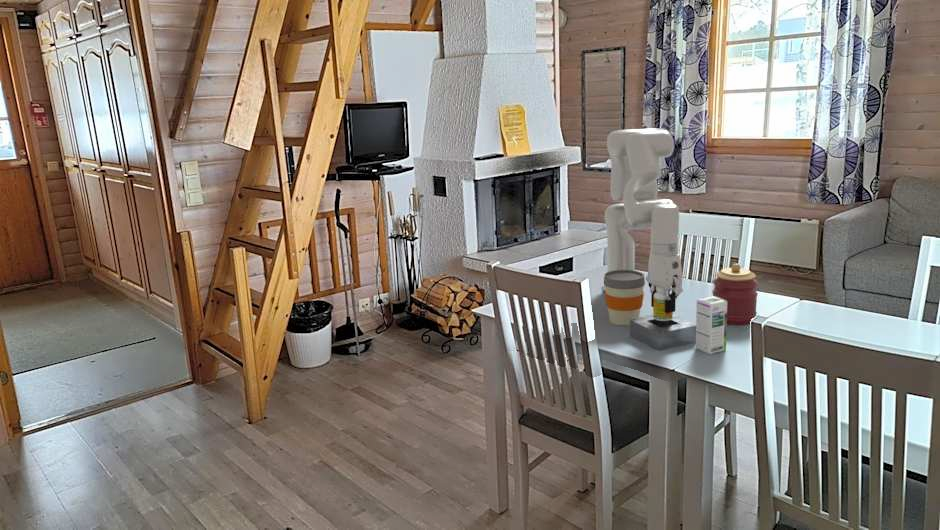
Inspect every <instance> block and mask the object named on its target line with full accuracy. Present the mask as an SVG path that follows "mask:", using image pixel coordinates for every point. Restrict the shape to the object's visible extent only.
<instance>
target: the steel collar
mask: <svg viewBox="0 0 940 530" xmlns="http://www.w3.org/2000/svg"><path fill="white" fill-rule="evenodd" d="M629 336H630V337H632V338H634V339H635V340H638V341H639V342H642V343H643V344H645V345H647V346H649V347H651V348H653V349H655V350H656V351H661V350H665V349H666V350H667V349H671V348H675V347H679V346H684V345H689V344H692V343H696V323H694V322H691V321H689V320H686V319H684V318H682V317H680V316H678V315H675V314H673V317H672V319H671V320H669V321H658V320H656V319H654V318H653V314H650V315H645V316H639V318H635V319H630V325H629Z"/></svg>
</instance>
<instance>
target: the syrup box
mask: <svg viewBox="0 0 940 530" xmlns="http://www.w3.org/2000/svg"><path fill="white" fill-rule="evenodd" d="M695 308H696V315H695V316H696V317H695V318H696V320H695V324H696V342H695V348H696V349H697V350H699V351H701V352H704V353H706V354H707V355H713V354H716V353H720V352H725V351H727V326H728V324H727V301H726V300H724V299H722V298H719V297H714V296H713V295H711V296H709V297H704V298H699V299H696V307H695Z"/></svg>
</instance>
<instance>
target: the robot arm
mask: <svg viewBox="0 0 940 530" xmlns="http://www.w3.org/2000/svg"><path fill="white" fill-rule="evenodd" d="M673 138H674V137H673V136H672V134H671V133H670V132H669V130H666V129H662V128H658V127H657V128H656V127H655V128H653V127H652V128H631V129H630V128H629V129H628V128H627V129H619V130H614V131H611V132H610V133H609V134H608V136H607V138H606V148H607V152H608V155H609V158H610V163H611V168H610V171H611V172H610V197H611V199H612V200H613V201H616V202H620V203H614V204H611V205H609V206H608V207H607V208H606V209H605V211H604V222H605V227H606V236H607V237H606V239H607V242H606V243H607V248H606V249H607V272H610V271H615V270H633V271H636V270H635V263H636V262H635V261H636V260H635V259H636V258H635V255H636V253H635V251H636V246H635V240H634V239H633V237H632V236H631V234H629V233H628V231H636V230H649V229H650V251H649V258H648V265H647V266H648V267H647V275H646V277H645V280H646V282H647V285H648V286H649V289H650V290H649V293H650V294H651V297H650V298H651V301H650V302H651V303H650V304H651V305H650V306H651V307H652V308H653V300H654V294H655V293H656V292H657V291H656V286H658V287H660V288H663V289H665V292H666V297H667V299H665V313H671V312H673V313H675V312H676V301H677V300H676V299H678V296H679V295H681V293H683V287H682V285H683V272H682V271H683V268H682V260H681V259H682V258H681V255H680V254H679V234H680V208H679V206H677V205H676V204H675V202H674V201H673V200H671V199H668V198H667V199H666V198H660V199H659V198H658V193H659V191H658V190H659V189H658V181H657V180H658V179H660V176H661V175H662V169H661V165H660V161H659V159H661V158H663V159H664V158H669V157H671V156H672V154H673V152H674V150H675V142H674V139H673ZM621 202H623V203H621ZM605 291H606V290H605V285H604V284H603V292H605ZM670 293H671V294H670Z"/></svg>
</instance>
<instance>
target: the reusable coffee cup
mask: <svg viewBox="0 0 940 530" xmlns="http://www.w3.org/2000/svg"><path fill="white" fill-rule="evenodd" d="M645 280H646V278H645V274H644V273H643V272H641V271H636V270H635V271H633V270H615V271H610V272H608V271H607V272H606V273H604V277H603V286H604V285H605V290H606V291H604V300H605V306H606V307H607V311H608V317H609V319H608V320H609V322H610V323H611V324H613V325H617V326H630V319H635V318H640V314H641V313H640V312H641V308H642V307H643V302H644V296H645V291H644V286H645V285H646V281H645Z"/></svg>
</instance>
